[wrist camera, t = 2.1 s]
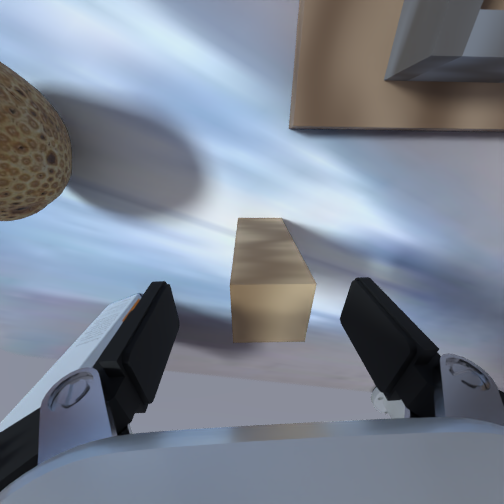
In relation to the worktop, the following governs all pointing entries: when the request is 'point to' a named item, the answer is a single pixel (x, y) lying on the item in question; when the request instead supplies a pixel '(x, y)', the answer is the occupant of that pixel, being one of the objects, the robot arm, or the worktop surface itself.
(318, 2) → the peg caddy
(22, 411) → the skincare box
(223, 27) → the worktop surface
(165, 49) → the worktop surface
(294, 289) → the oak peg
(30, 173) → the natural sponge
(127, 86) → the worktop surface
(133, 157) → the worktop surface
